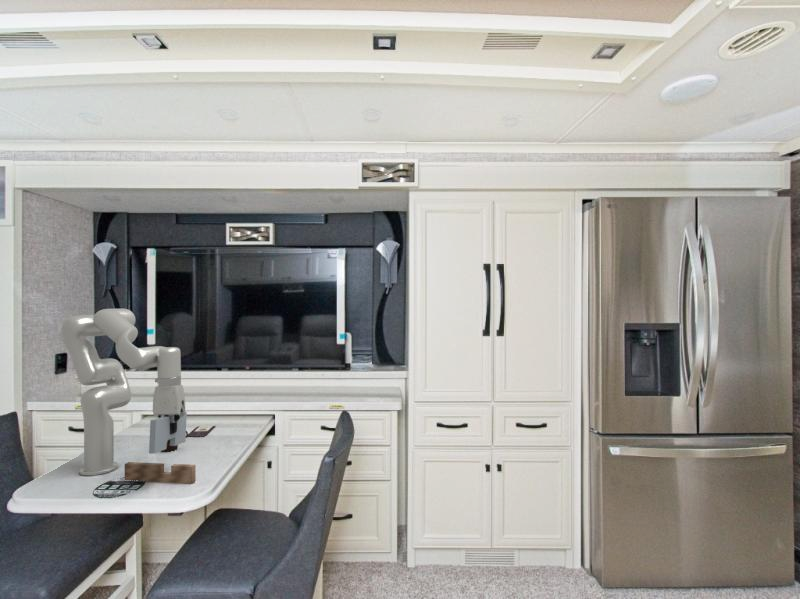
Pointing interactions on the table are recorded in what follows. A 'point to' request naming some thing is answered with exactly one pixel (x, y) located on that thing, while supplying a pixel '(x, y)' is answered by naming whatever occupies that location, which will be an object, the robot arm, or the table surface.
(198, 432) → the chocolate bar
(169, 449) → the coffee mug
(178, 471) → the walnut board
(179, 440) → the grey panel
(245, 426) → the table surface
